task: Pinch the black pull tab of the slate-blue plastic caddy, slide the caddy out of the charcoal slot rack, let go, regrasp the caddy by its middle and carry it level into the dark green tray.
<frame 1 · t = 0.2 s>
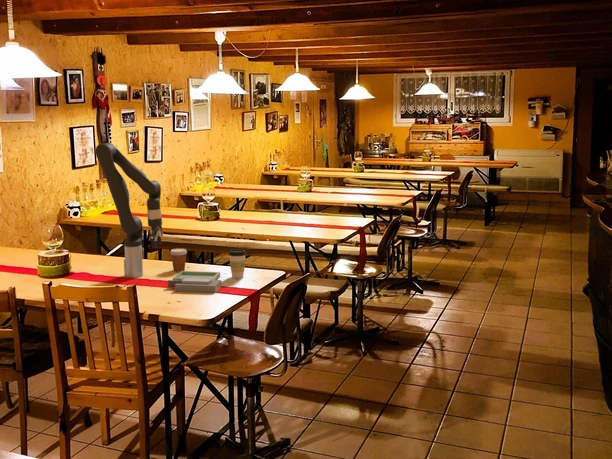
hand: (156, 246, 345), 17 cm above the table, tool pointing down, fingers open, 8 cm apart
coffee cup: (237, 277, 348), on the table
disposable coffee cup: (179, 270, 362), on the table
caddy: (196, 289, 324), resting in slot rack
slot rack: (194, 288, 324), on the table
tray: (196, 279, 342), on the table
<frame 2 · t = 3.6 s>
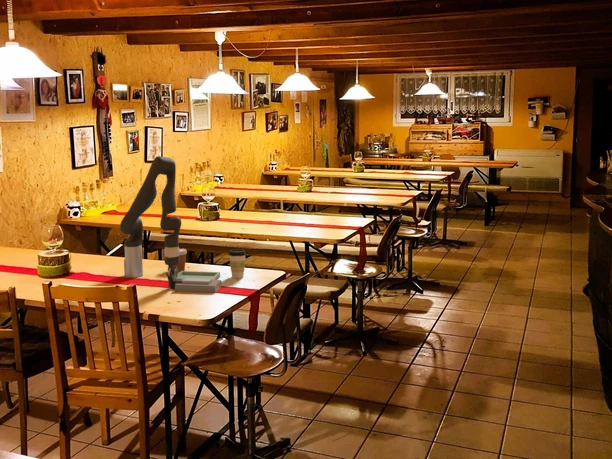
hand: (173, 287, 325), 0 cm above the table, tool pointing down, fingers closed
caddy: (197, 289, 324), resting in slot rack, touching gripper
everything else where it was.
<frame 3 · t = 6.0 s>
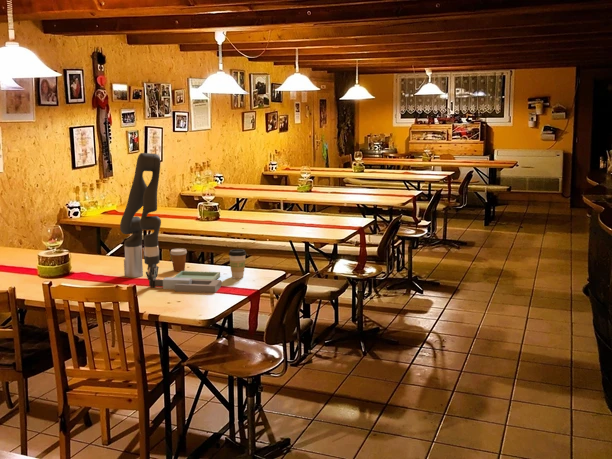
hand: (153, 286, 327), 0 cm above the table, tool pointing down, fingers closed
caddy: (177, 288, 326), on the table, touching gripper
everything else where it was.
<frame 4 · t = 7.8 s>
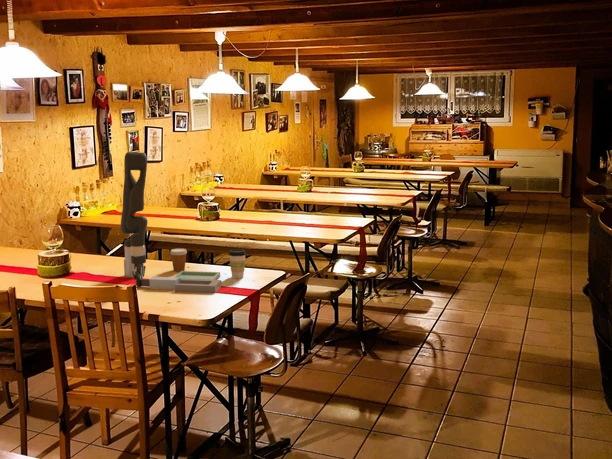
hand: (139, 286, 327), 0 cm above the table, tool pointing down, fingers closed
caddy: (164, 287, 326), on the table, touching gripper
everything else where it was.
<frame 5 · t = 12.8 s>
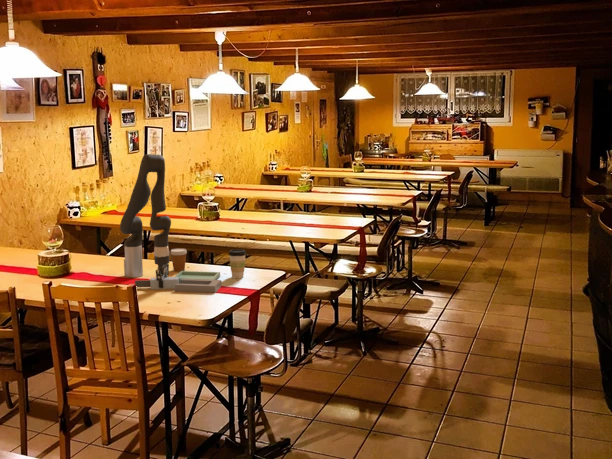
hand: (163, 286, 325), 1 cm above the table, tool pointing down, fingers closed on caddy, 5 cm apart
caddy: (164, 287, 326), on the table, touching gripper
everything else where it was.
when the fingers open (3 cm above the table, at t = 19.0 s): caddy stays where it is, resting on tray.
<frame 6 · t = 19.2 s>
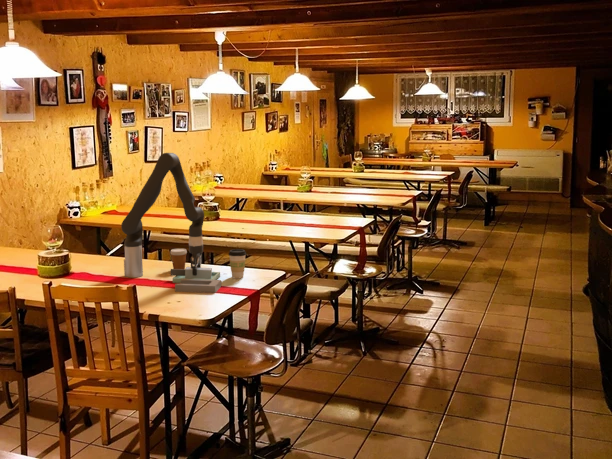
hand: (196, 273, 341), 3 cm above the table, tool pointing down, fingers open, 7 cm apart
caddy: (198, 277, 342), point 1 cm above the table, touching tray
everything else where it was.
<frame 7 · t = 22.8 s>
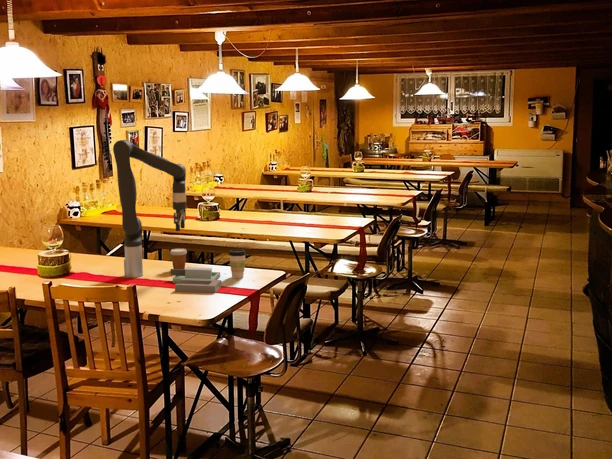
hand: (180, 229, 346), 26 cm above the table, tool pointing down, fingers open, 8 cm apart
nothing on the table moved.
at the end: caddy inside the target area on the tray (0.8 cm from its centre), point 1.2 cm above the tray's base; caddy tilted 3°; the gripper is holding nothing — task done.
